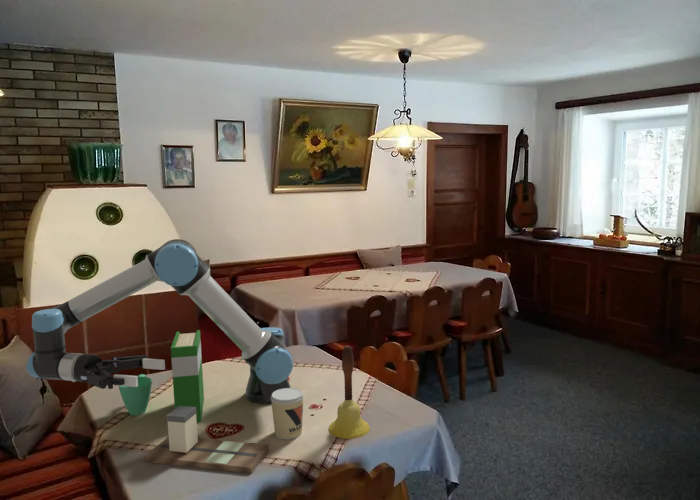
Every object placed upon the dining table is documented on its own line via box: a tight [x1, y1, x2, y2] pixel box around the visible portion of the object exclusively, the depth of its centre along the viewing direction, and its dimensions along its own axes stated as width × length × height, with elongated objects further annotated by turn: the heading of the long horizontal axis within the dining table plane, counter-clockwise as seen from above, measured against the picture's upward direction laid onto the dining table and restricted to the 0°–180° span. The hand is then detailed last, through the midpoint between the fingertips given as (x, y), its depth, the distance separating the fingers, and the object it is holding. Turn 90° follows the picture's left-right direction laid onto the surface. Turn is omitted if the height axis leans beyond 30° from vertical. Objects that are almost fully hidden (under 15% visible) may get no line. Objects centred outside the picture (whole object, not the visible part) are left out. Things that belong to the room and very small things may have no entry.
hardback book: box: [170, 329, 205, 423], centre depth 172 cm, size 18×7×24 cm, turn 12°
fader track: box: [144, 435, 270, 474], centre depth 145 cm, size 30×12×2 cm, turn 77°
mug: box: [118, 373, 153, 416], centre depth 175 cm, size 15×10×10 cm
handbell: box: [327, 345, 371, 440], centre depth 158 cm, size 12×12×25 cm
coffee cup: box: [271, 387, 304, 440], centre depth 157 cm, size 9×9×12 cm
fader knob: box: [166, 406, 199, 453], centre depth 146 cm, size 5×6×10 cm
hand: (151, 372), depth 146 cm, fingers open, 12 cm apart
